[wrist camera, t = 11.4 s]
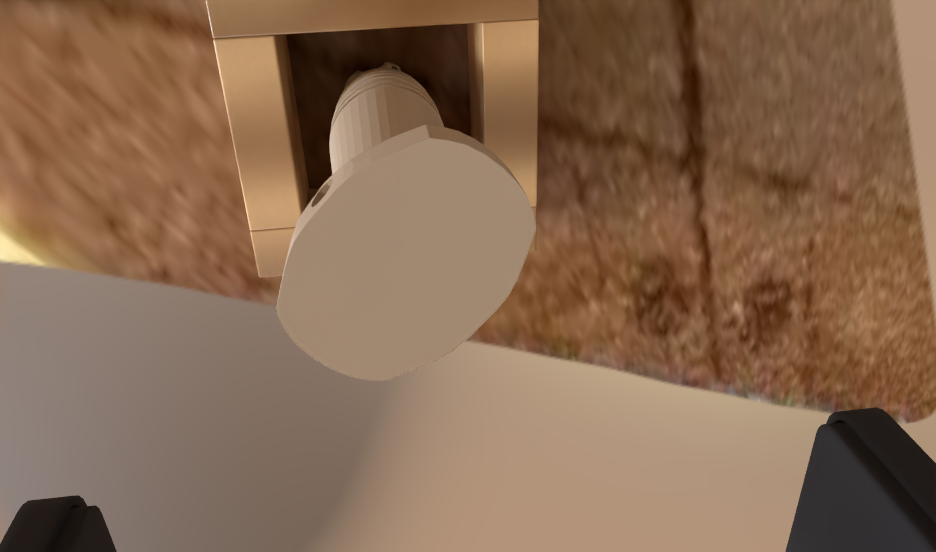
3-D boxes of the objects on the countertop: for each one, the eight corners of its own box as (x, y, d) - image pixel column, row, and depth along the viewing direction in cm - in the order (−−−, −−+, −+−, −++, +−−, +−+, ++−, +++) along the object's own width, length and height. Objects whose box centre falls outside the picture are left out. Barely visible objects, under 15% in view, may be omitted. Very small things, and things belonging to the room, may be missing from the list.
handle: (478, 79, 30) (576, 231, 17) (377, 192, 32) (396, 409, 19) (387, -5, 28) (418, 94, 15) (285, 121, 30) (232, 308, 17)
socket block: (219, -39, 27) (199, -27, 23) (516, -53, 28) (540, -44, 24) (269, 235, 32) (258, 278, 28) (517, 213, 33) (536, 252, 30)
